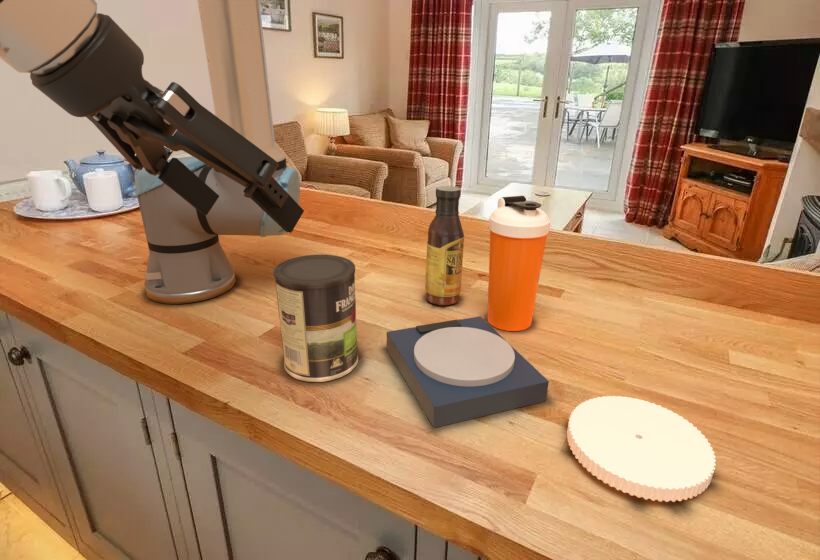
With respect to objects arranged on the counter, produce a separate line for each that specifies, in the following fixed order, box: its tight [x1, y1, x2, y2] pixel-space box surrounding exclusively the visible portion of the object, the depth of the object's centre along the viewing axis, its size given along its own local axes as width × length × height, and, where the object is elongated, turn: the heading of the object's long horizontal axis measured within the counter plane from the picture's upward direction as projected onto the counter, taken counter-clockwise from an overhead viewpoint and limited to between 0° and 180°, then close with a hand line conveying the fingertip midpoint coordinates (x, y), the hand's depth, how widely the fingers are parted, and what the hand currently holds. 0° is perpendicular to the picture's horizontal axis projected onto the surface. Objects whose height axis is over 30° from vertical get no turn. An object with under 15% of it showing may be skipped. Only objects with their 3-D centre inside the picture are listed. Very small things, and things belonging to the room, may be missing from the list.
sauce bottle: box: [424, 185, 465, 306], centre depth 83 cm, size 7×6×20 cm
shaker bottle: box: [487, 195, 551, 332], centre depth 76 cm, size 9×9×20 cm
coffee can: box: [272, 254, 359, 383], centre depth 66 cm, size 10×10×14 cm
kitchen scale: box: [386, 315, 550, 429], centre depth 65 cm, size 18×15×4 cm
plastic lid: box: [566, 395, 717, 503], centre depth 52 cm, size 14×14×2 cm
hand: (250, 212), depth 53 cm, fingers open, 13 cm apart
